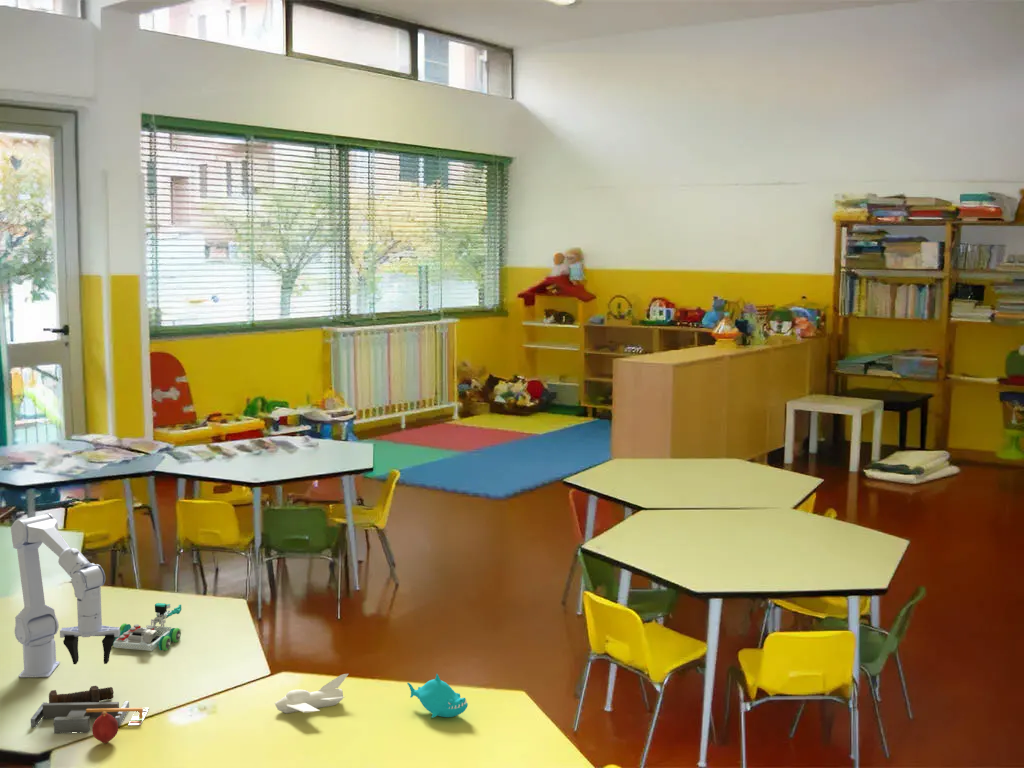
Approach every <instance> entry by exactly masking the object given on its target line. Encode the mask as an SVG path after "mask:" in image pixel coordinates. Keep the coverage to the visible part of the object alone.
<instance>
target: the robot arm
mask: <svg viewBox="0 0 1024 768" xmlns="http://www.w3.org/2000/svg"><path fill="white" fill-rule="evenodd" d="M58 526H59V525H58V521H57V519H56V518H55V517H54V515H53V514H52V513H49V512H47V513H44V514H40V515H34V516H31V517H26V518H22V519H21V518H20V519H16V520H15V521H14V522H13V523H12V525H11V526H10V533H11V541H12V548H13V549H16V551H17V560H18V566H19V577H20V583H21V590H22V591H21V592H22V599H23V604H24V605H23V608H22V609H21V610H20V611H19V613H18V614H16V616H15V617H14V618H15V626H14V636H15V639H16V640H17V642H18V643H20V645H22V654H23V670H22V671H21V672H20V674H19V675H18V678H49V677H50V676H51V675H52V674H53V673H54V671H55V670H56V668H57V667H58V666H59V665H60V663H61V661H58V660H57V652H56V651H57V650H56V648H57V647H56V645H57V644H56V640H55V635H56V634H57V633H58V630H59V621H58V618H57V616H56V612H55V609H54V608H53V607H51V606H50V605H47V604H46V603H45V602H46V600H45V592H44V585H43V578H42V577H43V576H42V571H41V568H42V567H41V561H40V555H39V553H40V551H39V548H40V546H41V545H42V544H44V545H46V547H47V548H48V549H50V551H52V552H53V553H54V554H55V555H56V556H57V557H58V562H57V563H58V565H59V566H60V567H61V568H62V569H63V570H64V571H65V572H66V573H67V575H68V576H69V577H70V583H71V586H72V587H73V590H74V597H75V598H76V605H77V606H76V607H77V626H70V627H69V626H68V627H61V629H60V630H59V638H64V639H63V640H62V641H63V645H64V646H65V648H66V649H67V650H68V652H69V655H70V657H71V661H72V664H73V665H77V664H78V662H79V658H80V657H79V656H80V655H79V637H81V638H90V637H103V638H102V640H101V643H102V650H103V665H107V664H108V663H109V662H110V656H111V651H112V647H113V646H112V645H113V643H114V640H115V638H116V637H118V636H119V635H120V626H110V625H103V622H102V621H103V619H102V617H103V615H102V593H101V592H102V591H101V589H102V588H101V587H103V586H104V585H105V583H106V574H105V571H104V569H103V568H102V566H101V565H100V564H98V563H96V564H95V562H92V563H91V562H90V561H89V560H88V559H87V557H85V556H84V554H83V553H82V552H81V551H80V550H79V549H78V548H76V547H70V545H69V544H68V543H67V540H65V539H64V537H63V536H62V534H61V533H60V531H59V527H58Z"/></svg>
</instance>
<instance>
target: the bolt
mask: <svg viewBox="0 0 1024 768" xmlns="http://www.w3.org/2000/svg"><path fill="white" fill-rule="evenodd" d="M113 698H114V688H113V687H112V686H109V687H108V686H107V687H104V688H99V686H98V685H92V686H91V685H90V687H89V690H83V691H75V692H69V693H59V694H58V692H57V690H56V689H54V690H52V689H51V690H50V691H49V694H48V703H82V702H106V701H110V700H113Z"/></svg>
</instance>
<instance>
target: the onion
mask: <svg viewBox="0 0 1024 768" xmlns="http://www.w3.org/2000/svg"><path fill="white" fill-rule="evenodd" d="M118 731H119V726H118V722H117V720H116V719H115V717H113V716H112V715H110V714H108V713H107V712H103V713H102V715H101V716H99V717H98V718H96V719H95V720H94V722H93V724H92V727H91V732H92V736H93V737H94V738H95V740H97V741H99V742H100V743H102V744H105V745H106V744H108V743H109V742H111V741H112V740H113V739H114V738H115V736H116V735H117V734H118Z"/></svg>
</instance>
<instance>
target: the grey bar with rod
mask: <svg viewBox="0 0 1024 768" xmlns="http://www.w3.org/2000/svg"><path fill="white" fill-rule="evenodd" d="M143 708H144V707H129V708H121V707H120V701H99V702H82V703H49V702H47V703H44V704H43V718H42V719H46V718H50V719H55V717H80V716H90V719H91V718H93V719H94V718H96V719H97V718H98V717H99V716H101V715H102V713H103V712H107V713H108V714H110V715H112V716H113V717H114V718H115V717H116V715H117V714H118V712H127V711H128V712H135V711H139V719H142V718H143ZM128 712H127V713H128ZM46 720H47V719H46Z"/></svg>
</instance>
